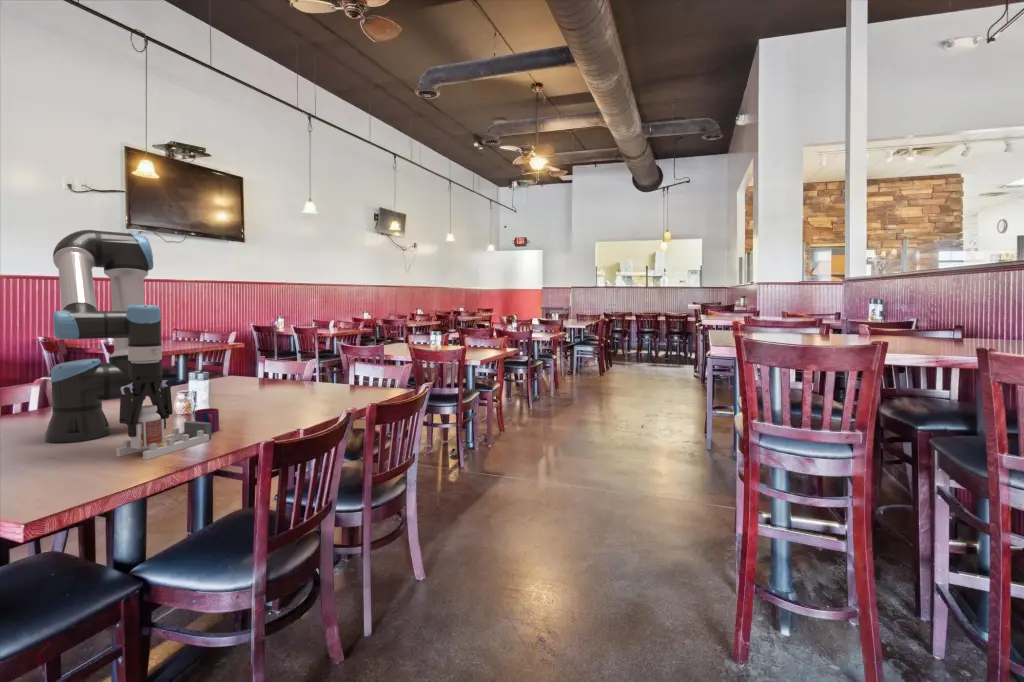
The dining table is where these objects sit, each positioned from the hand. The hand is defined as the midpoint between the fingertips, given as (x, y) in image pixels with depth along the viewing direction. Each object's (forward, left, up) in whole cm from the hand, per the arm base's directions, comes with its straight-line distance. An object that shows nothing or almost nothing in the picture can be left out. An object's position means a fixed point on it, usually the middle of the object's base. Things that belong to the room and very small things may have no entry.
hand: (148, 444), depth 142 cm
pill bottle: (0, 0, -1) cm, 1 cm away
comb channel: (0, +5, -2) cm, 6 cm away
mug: (-4, +24, -3) cm, 24 cm away
